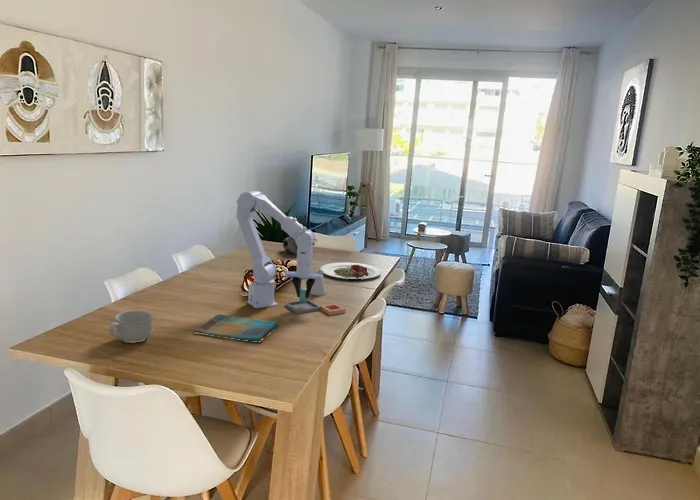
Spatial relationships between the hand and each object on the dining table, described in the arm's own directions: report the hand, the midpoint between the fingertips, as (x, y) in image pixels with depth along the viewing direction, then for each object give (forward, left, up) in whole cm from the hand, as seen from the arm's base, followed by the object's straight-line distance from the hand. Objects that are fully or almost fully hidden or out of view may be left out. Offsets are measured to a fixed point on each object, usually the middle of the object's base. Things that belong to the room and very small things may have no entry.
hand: (303, 297), depth 197 cm
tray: (0, 0, -5) cm, 5 cm away
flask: (+15, +14, -5) cm, 21 cm away
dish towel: (-30, -10, -6) cm, 32 cm away
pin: (0, 0, -2) cm, 2 cm away
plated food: (+46, +37, -5) cm, 59 cm away
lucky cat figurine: (+43, +85, -5) cm, 96 cm away
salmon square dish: (+8, -8, -5) cm, 13 cm away
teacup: (-63, -5, -5) cm, 63 cm away
